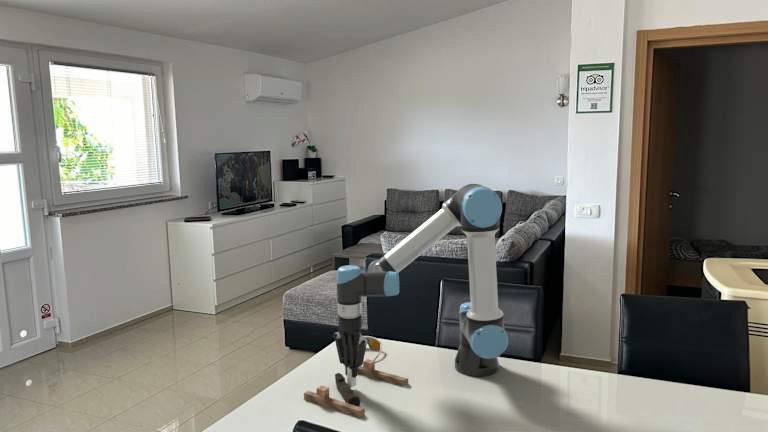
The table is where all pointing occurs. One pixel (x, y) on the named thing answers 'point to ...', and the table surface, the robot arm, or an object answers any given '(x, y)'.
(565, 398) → the table surface
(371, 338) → the sunglasses
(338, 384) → the dark brown wooden log
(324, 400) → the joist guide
